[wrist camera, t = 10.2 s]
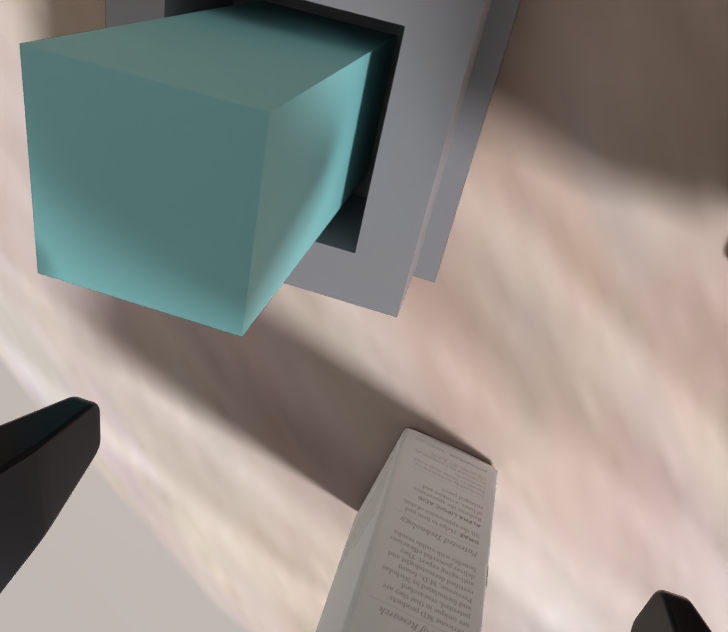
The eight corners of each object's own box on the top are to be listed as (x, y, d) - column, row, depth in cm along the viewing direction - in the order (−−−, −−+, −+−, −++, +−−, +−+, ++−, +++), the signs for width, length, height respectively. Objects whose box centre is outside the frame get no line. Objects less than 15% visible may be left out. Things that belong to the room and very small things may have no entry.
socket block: (538, -62, 17) (539, -66, 12) (438, 269, 22) (415, 345, 18) (184, -148, 18) (73, -179, 13) (169, 190, 23) (86, 244, 19)
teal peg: (397, 35, 18) (269, 112, 9) (367, 172, 20) (242, 336, 11) (261, 0, 18) (20, 43, 10) (246, 138, 20) (38, 272, 12)
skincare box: (441, 551, 29) (389, 884, 18) (350, 510, 29) (247, 819, 18) (504, 461, 25) (483, 806, 15) (401, 415, 25) (309, 727, 15)
